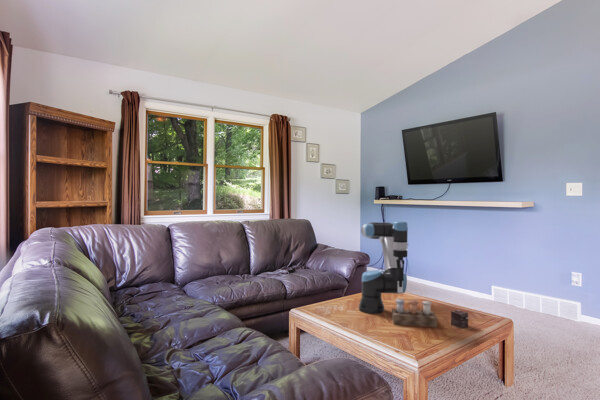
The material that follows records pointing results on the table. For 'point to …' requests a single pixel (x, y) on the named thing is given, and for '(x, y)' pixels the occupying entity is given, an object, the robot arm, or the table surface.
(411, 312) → the terracotta plug
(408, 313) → the socket block
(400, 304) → the grey plug
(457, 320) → the box
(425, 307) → the cream plug
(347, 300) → the table surface
